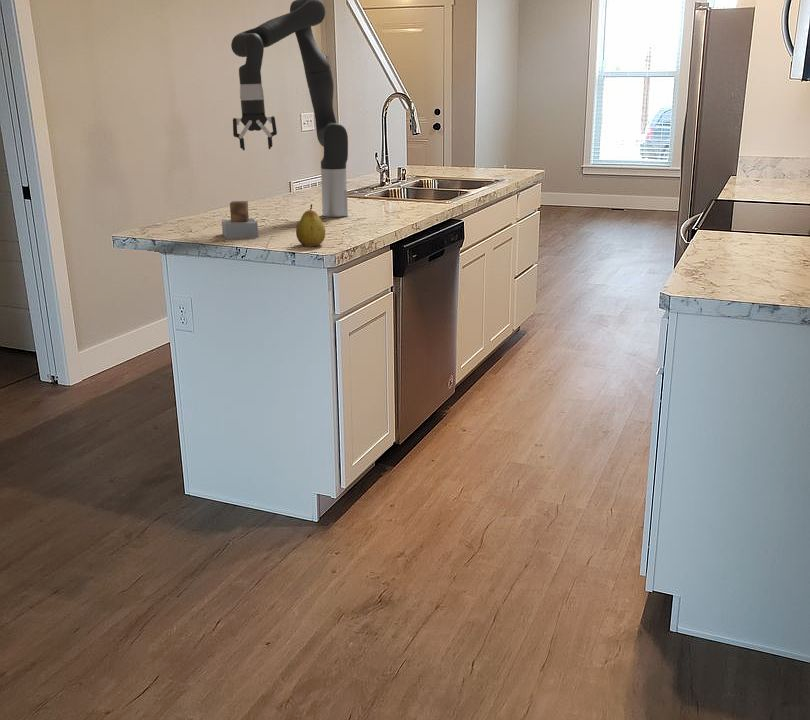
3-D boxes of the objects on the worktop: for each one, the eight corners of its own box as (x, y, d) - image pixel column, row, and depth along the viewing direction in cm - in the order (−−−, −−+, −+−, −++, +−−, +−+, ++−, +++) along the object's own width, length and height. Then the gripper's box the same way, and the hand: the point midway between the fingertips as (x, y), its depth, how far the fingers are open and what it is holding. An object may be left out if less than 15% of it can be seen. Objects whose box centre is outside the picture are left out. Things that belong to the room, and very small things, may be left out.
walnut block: (248, 219, 272) (247, 201, 270) (246, 222, 267) (245, 203, 265) (233, 219, 272) (232, 201, 270) (231, 222, 267) (229, 203, 265)
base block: (253, 233, 277) (252, 218, 275) (258, 238, 268) (257, 222, 266) (222, 235, 274) (221, 219, 272) (226, 240, 265) (225, 224, 263)
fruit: (310, 249, 248) (309, 208, 244) (290, 245, 254) (288, 205, 250) (332, 245, 254) (330, 205, 250) (311, 241, 260) (310, 202, 256)
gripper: (273, 97, 279) (277, 147, 284) (230, 99, 277) (235, 149, 282) (274, 98, 272) (278, 149, 277) (229, 99, 270) (234, 151, 275)
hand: (256, 149), depth 280 cm, fingers open, 8 cm apart
